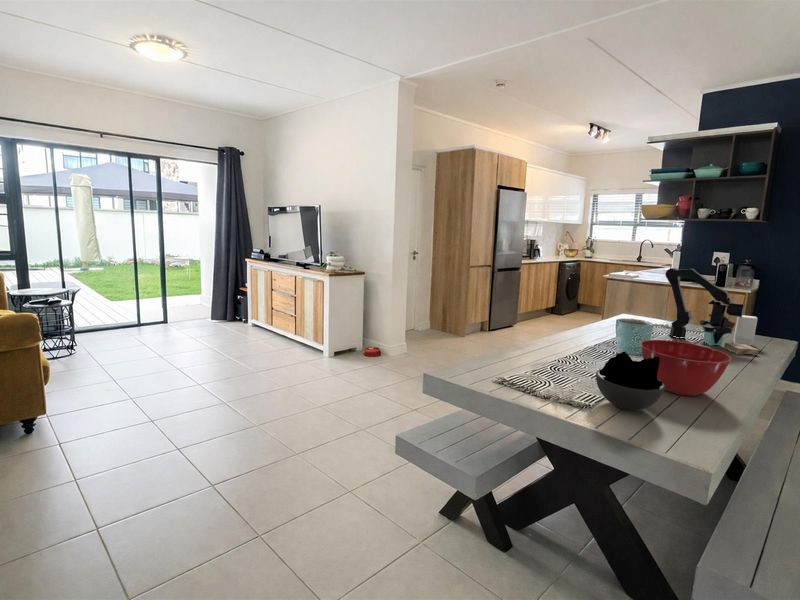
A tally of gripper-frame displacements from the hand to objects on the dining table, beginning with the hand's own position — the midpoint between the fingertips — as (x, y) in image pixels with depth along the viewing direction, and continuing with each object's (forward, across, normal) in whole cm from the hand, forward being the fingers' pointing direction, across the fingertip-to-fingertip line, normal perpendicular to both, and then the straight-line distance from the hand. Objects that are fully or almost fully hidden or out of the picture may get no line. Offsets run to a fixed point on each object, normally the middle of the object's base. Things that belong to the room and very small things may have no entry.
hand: (712, 341), depth 233 cm
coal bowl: (+2, -100, +83) cm, 130 cm away
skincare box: (+2, +6, -19) cm, 20 cm away
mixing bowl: (+2, -77, +55) cm, 95 cm away
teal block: (+1, 0, 0) cm, 1 cm away
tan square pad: (+1, -12, -7) cm, 14 cm away
